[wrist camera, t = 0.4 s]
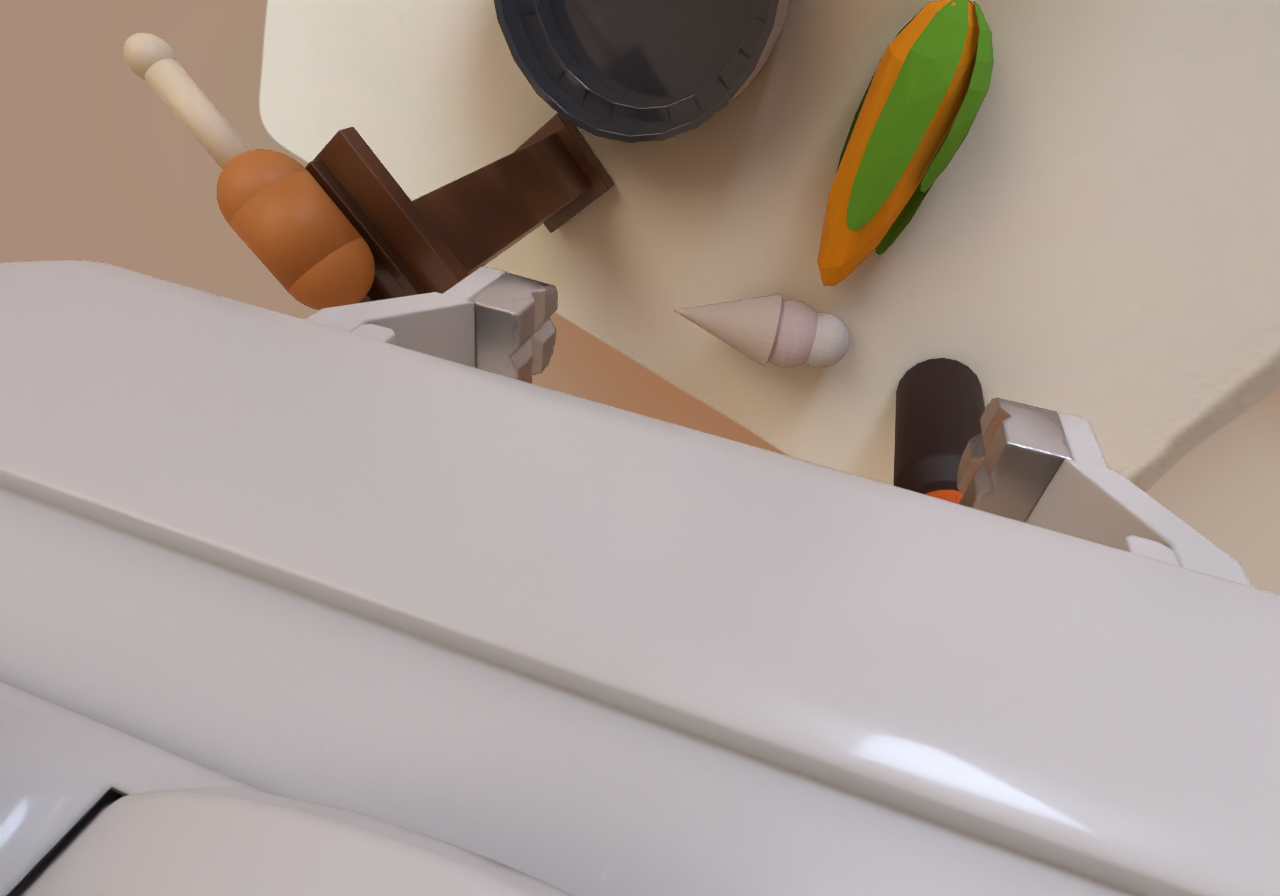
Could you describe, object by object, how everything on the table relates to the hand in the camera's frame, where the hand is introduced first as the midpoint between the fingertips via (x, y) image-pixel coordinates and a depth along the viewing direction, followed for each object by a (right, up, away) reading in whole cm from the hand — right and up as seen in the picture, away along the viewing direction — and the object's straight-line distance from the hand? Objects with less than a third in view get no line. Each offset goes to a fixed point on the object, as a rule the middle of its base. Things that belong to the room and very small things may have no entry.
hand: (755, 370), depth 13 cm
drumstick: (-21, +13, +24) cm, 35 cm away
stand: (-10, +24, +47) cm, 53 cm away
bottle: (+24, +4, +48) cm, 54 cm away
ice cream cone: (+9, +10, +49) cm, 51 cm away
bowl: (-1, +33, +37) cm, 50 cm away
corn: (+17, +21, +39) cm, 47 cm away
